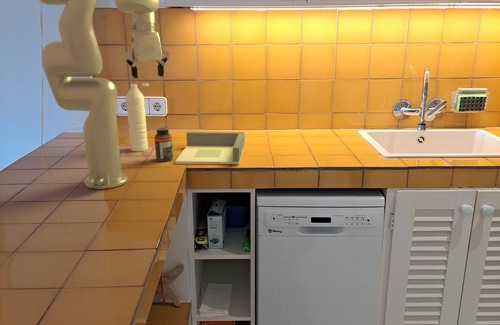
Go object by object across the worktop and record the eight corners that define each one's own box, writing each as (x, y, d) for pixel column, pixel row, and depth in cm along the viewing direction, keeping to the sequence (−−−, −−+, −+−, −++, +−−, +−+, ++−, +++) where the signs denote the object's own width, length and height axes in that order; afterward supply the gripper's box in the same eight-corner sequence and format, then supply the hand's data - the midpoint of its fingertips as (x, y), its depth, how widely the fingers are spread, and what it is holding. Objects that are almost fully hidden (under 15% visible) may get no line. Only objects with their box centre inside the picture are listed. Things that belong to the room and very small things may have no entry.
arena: (239, 164, 153) (238, 147, 151) (175, 163, 155) (174, 147, 153) (244, 147, 174) (244, 132, 172) (188, 146, 176) (187, 131, 174)
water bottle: (132, 152, 169) (125, 85, 161) (129, 148, 174) (123, 83, 167) (155, 149, 172) (150, 84, 164) (152, 145, 178) (147, 81, 170)
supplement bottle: (154, 158, 162) (152, 127, 158) (171, 156, 164) (169, 125, 160) (157, 162, 156) (155, 131, 153) (174, 160, 158) (172, 129, 155)
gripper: (124, 28, 152) (128, 79, 157) (171, 28, 161) (174, 76, 166) (117, 28, 158) (121, 77, 163) (163, 28, 167) (166, 74, 172)
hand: (148, 77), depth 165 cm, fingers open, 9 cm apart
